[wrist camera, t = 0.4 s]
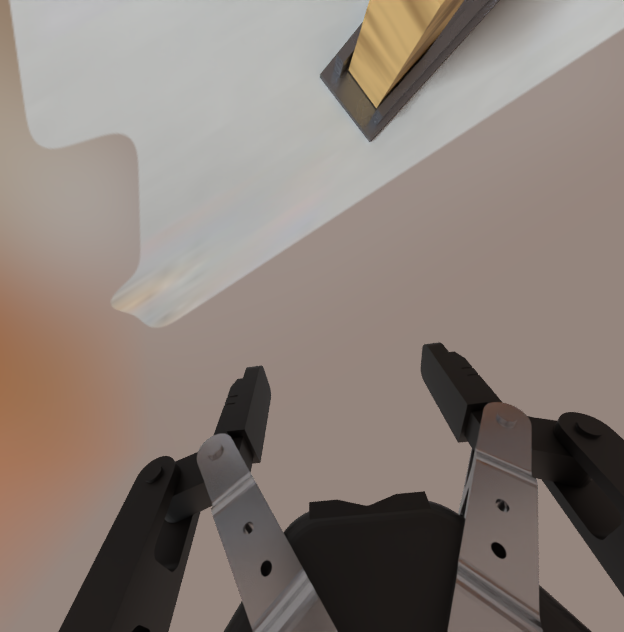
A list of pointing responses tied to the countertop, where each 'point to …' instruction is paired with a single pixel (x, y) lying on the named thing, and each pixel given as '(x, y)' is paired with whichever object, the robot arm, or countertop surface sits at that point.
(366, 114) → the metal track
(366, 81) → the slider block
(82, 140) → the countertop surface
